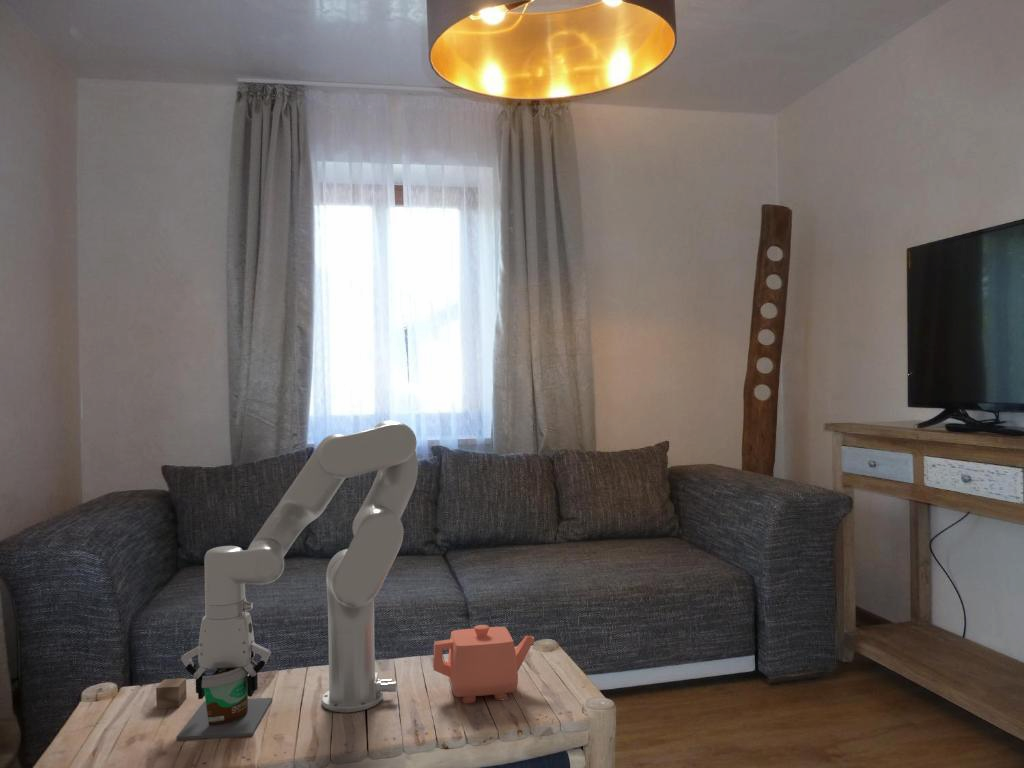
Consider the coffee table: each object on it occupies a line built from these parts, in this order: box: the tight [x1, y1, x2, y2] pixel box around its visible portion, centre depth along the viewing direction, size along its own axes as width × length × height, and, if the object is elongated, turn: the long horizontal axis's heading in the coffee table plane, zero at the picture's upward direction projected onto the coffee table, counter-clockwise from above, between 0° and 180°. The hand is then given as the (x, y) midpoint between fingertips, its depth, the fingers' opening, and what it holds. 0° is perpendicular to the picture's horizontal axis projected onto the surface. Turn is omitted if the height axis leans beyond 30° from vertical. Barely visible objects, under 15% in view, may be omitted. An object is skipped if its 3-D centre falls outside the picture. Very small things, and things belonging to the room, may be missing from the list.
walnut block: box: [155, 677, 187, 710], centre depth 157 cm, size 4×4×4 cm
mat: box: [176, 697, 273, 741], centre depth 149 cm, size 14×16×1 cm
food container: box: [202, 667, 249, 726], centre depth 150 cm, size 12×6×10 cm, turn 171°
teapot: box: [432, 624, 535, 704], centre depth 161 cm, size 22×13×14 cm, turn 100°
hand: (227, 695), depth 149 cm, fingers open, 9 cm apart
